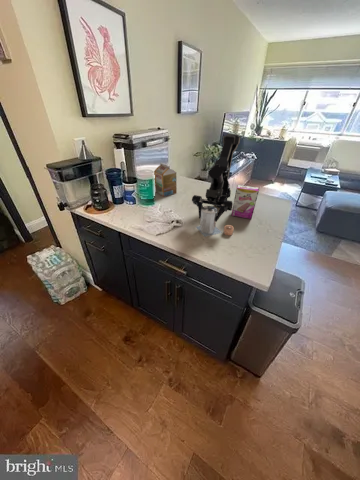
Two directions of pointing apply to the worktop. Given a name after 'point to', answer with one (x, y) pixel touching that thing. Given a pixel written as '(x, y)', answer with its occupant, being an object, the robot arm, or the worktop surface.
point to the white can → (208, 220)
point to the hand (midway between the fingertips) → (207, 219)
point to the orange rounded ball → (228, 230)
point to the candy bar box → (244, 201)
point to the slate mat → (210, 234)
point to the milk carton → (165, 180)
